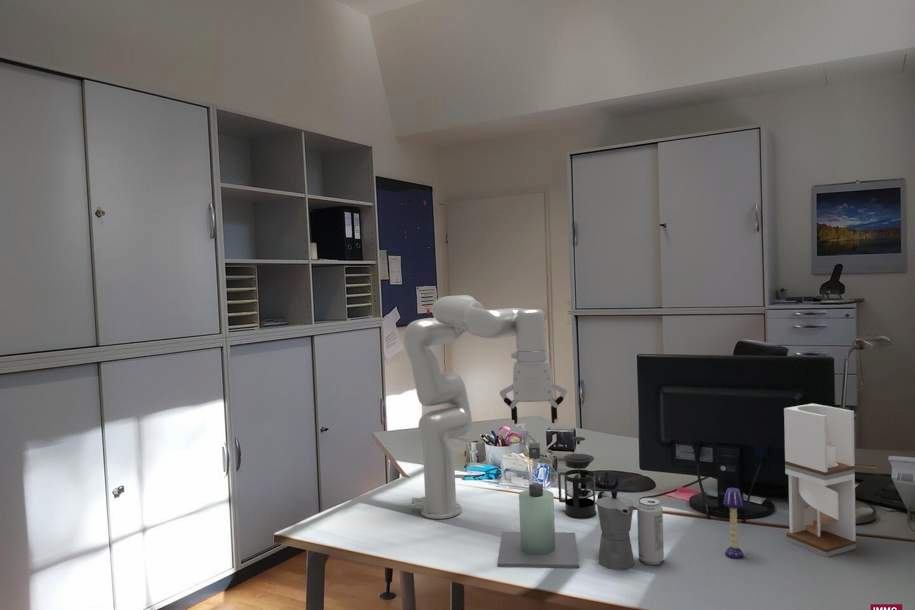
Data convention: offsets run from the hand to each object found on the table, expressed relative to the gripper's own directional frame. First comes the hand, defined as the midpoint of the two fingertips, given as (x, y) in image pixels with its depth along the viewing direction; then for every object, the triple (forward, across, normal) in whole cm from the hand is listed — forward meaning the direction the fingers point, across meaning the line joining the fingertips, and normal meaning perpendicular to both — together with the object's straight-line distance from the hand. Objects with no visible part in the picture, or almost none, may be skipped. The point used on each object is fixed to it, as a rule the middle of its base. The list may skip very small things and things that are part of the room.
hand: (534, 422), depth 169 cm
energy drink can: (+34, +28, -4) cm, 44 cm away
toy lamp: (+34, +48, 0) cm, 60 cm away
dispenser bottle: (+34, 0, 0) cm, 34 cm away
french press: (+34, +12, +28) cm, 45 cm away
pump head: (+12, 0, -1) cm, 12 cm away
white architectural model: (+35, +72, +6) cm, 80 cm away
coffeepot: (+34, +18, -4) cm, 39 cm away
